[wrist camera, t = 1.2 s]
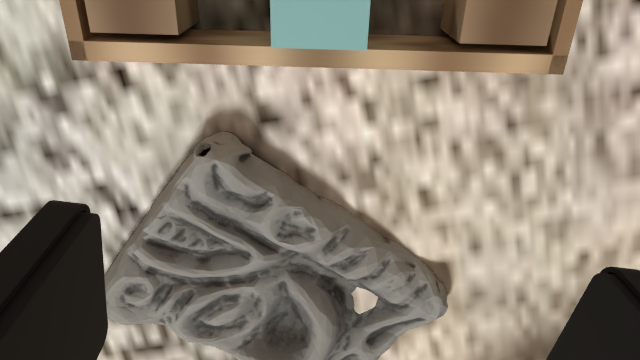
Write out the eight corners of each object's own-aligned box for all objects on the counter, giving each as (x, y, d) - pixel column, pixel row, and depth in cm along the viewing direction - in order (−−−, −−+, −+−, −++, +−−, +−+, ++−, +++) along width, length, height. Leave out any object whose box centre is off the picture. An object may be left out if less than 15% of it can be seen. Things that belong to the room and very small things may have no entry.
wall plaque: (94, 290, 38) (71, 325, 35) (213, 113, 31) (199, 135, 28) (323, 406, 45) (323, 445, 41) (464, 280, 38) (479, 315, 34)
